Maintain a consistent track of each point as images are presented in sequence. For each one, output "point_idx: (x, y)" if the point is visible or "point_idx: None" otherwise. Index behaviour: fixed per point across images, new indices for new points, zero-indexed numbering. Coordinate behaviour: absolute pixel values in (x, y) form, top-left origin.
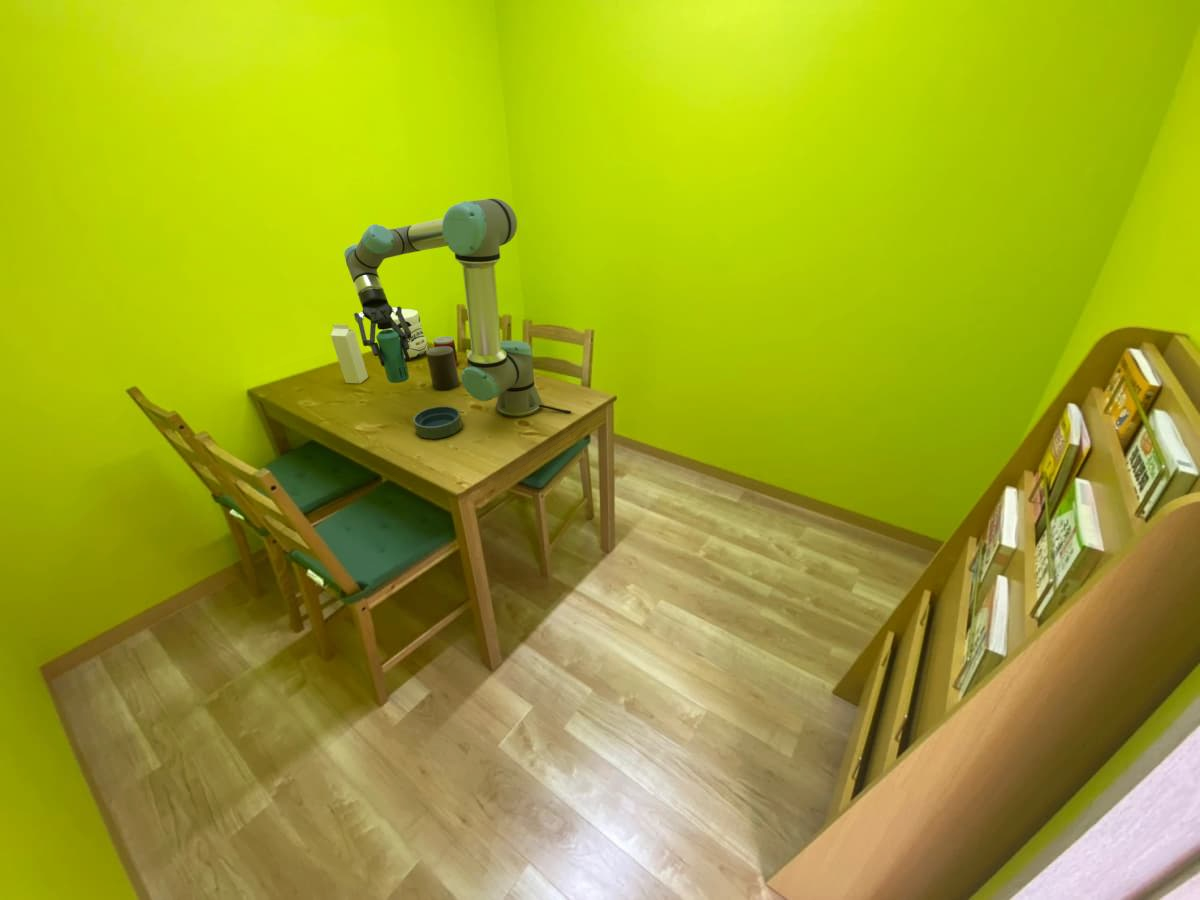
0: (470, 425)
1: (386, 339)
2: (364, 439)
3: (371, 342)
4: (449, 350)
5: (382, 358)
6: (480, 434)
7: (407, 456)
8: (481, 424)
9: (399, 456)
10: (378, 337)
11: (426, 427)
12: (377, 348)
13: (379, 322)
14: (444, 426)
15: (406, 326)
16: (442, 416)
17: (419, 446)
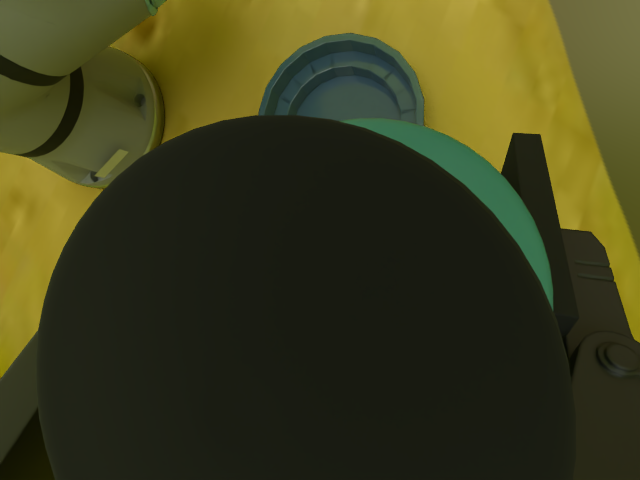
0: (261, 98)
1: (430, 132)
2: (596, 220)
3: (628, 346)
4: None
5: (520, 154)
6: (263, 25)
7: (504, 10)
8: (234, 84)
9: (528, 24)
10: (538, 251)
11: (400, 54)
12: (551, 242)
13: (491, 280)
14: (343, 35)
15: (19, 382)
16: None
17: (445, 54)
